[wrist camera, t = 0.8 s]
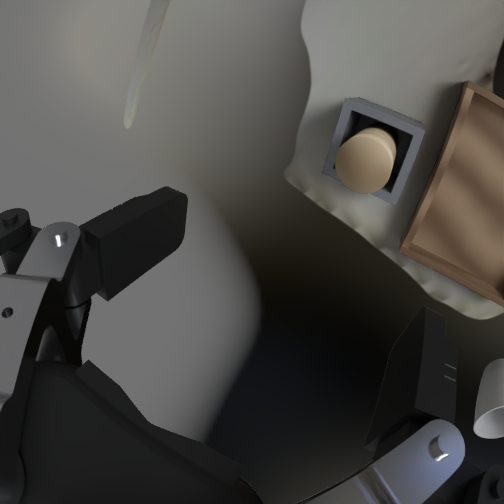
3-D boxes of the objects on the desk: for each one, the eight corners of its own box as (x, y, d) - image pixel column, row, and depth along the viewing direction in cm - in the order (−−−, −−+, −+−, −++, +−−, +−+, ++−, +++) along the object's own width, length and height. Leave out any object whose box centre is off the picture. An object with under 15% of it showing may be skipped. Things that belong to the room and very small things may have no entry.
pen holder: (359, 97, 30) (344, 98, 24) (422, 123, 28) (425, 130, 22) (340, 156, 34) (321, 172, 28) (399, 182, 32) (395, 205, 26)
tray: (464, 81, 23) (468, 80, 21) (575, 156, 19) (586, 162, 17) (400, 240, 35) (398, 251, 33) (501, 294, 30) (505, 308, 28)
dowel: (368, 116, 30) (344, 128, 20) (403, 131, 29) (399, 151, 19) (357, 149, 32) (327, 180, 22) (391, 164, 31) (379, 202, 21)
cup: (518, 381, 33) (522, 432, 25) (474, 390, 38) (472, 442, 30) (522, 346, 31) (531, 399, 23) (473, 357, 36) (474, 411, 28)
